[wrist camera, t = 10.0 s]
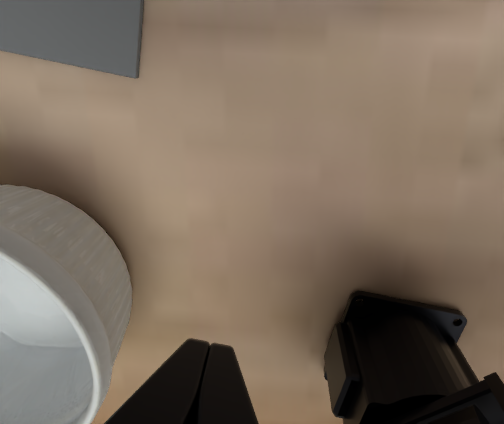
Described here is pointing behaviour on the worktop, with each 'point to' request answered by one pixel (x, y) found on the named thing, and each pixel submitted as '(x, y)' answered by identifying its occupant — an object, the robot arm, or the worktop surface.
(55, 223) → the ramekin
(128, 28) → the mat
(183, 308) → the worktop surface
